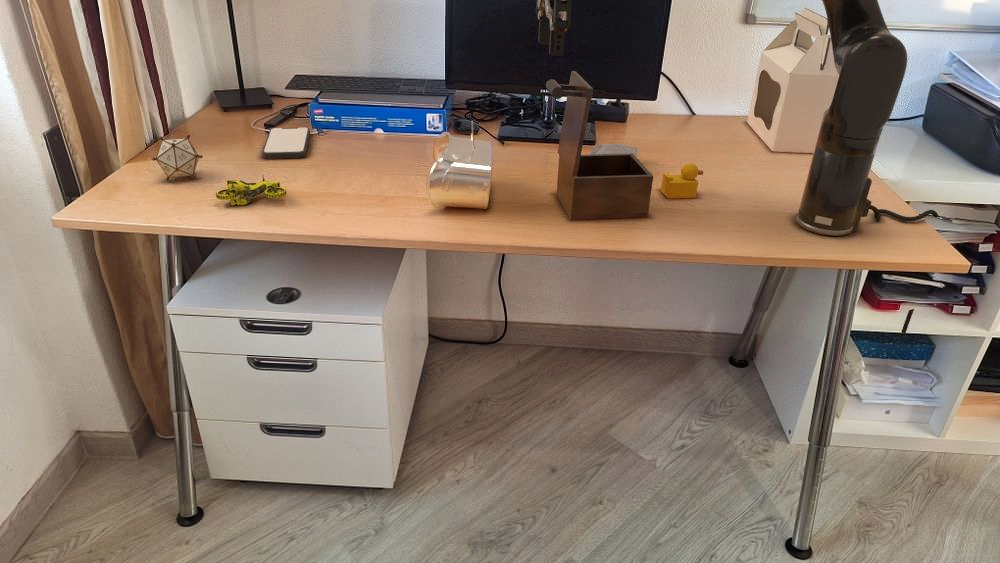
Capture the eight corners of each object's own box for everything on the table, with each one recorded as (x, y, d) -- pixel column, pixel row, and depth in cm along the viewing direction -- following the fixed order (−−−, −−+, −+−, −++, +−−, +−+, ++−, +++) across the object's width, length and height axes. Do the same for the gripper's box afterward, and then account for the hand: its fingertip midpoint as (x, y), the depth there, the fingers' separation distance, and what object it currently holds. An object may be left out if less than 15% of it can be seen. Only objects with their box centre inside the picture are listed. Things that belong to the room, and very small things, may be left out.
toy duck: (666, 198, 135) (671, 168, 132) (659, 190, 138) (663, 160, 135) (702, 197, 136) (708, 167, 133) (694, 189, 140) (699, 159, 137)
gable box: (746, 122, 179) (770, 4, 165) (799, 124, 179) (827, 6, 165) (772, 152, 160) (802, 21, 146) (831, 154, 160) (867, 23, 146)
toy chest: (627, 192, 137) (632, 153, 134) (647, 217, 127) (653, 176, 124) (556, 194, 135) (559, 155, 131) (570, 220, 125) (574, 178, 122)
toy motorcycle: (212, 188, 123) (219, 174, 129) (215, 208, 125) (222, 194, 131) (284, 185, 125) (287, 172, 131) (286, 206, 127) (290, 191, 133)
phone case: (305, 159, 148) (311, 133, 162) (305, 152, 147) (310, 126, 161) (261, 160, 147) (270, 134, 160) (260, 153, 146) (269, 127, 160)
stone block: (586, 183, 145) (636, 178, 143) (584, 160, 143) (634, 155, 141) (592, 165, 155) (638, 160, 153) (589, 143, 153) (637, 139, 151)
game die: (174, 196, 139) (137, 153, 136) (210, 171, 142) (175, 129, 139) (180, 188, 131) (141, 143, 128) (218, 162, 135) (181, 117, 132)
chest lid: (575, 71, 124) (543, 68, 123) (593, 88, 114) (558, 85, 113) (561, 152, 131) (530, 150, 130) (576, 176, 121) (543, 174, 120)
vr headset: (433, 177, 141) (431, 104, 134) (491, 178, 141) (492, 106, 134) (427, 215, 125) (424, 135, 118) (492, 216, 126) (493, 136, 119)
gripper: (593, -56, 102) (583, 59, 110) (570, -64, 114) (562, 40, 123) (542, -57, 101) (536, 60, 109) (524, -65, 113) (519, 40, 121)
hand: (550, 49), depth 116 cm, fingers open, 8 cm apart
